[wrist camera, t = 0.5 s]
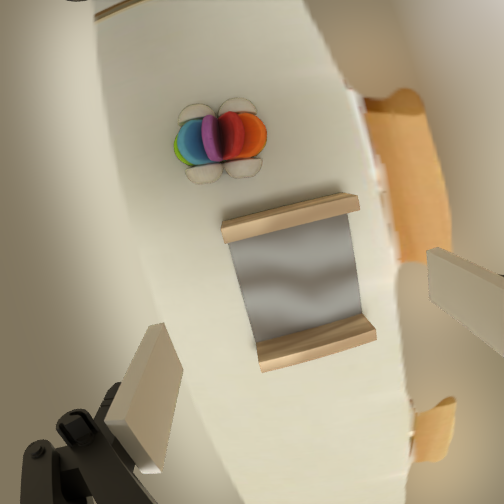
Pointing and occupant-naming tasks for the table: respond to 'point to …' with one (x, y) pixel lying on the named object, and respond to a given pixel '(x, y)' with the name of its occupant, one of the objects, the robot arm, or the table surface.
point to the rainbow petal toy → (220, 140)
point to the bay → (299, 280)
